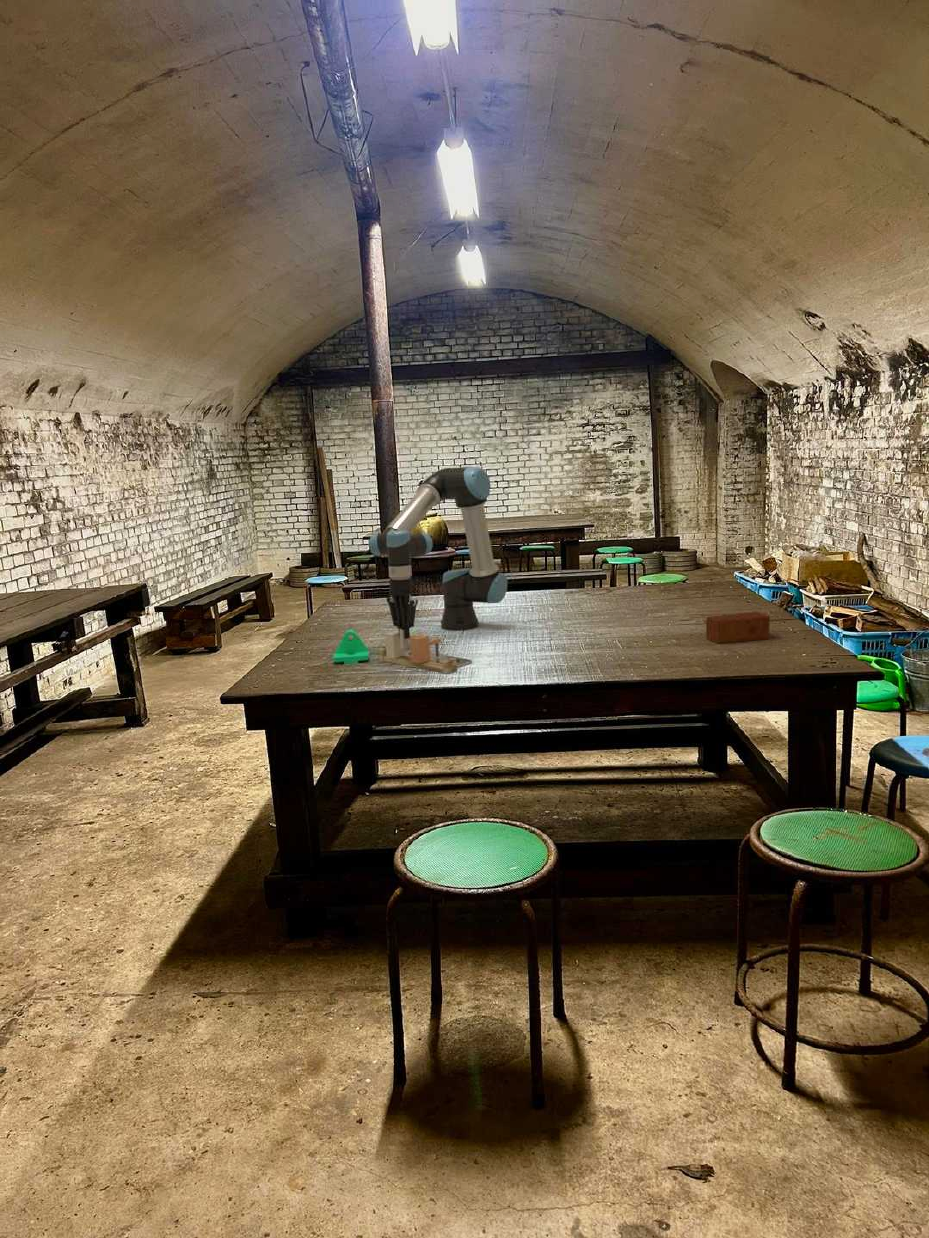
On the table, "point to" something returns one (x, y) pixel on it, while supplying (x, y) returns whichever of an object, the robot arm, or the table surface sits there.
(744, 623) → the brick
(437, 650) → the slider leg
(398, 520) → the robot arm
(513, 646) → the table surface
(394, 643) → the fixed leg
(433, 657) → the hole plate
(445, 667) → the rail
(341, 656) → the camera mount
